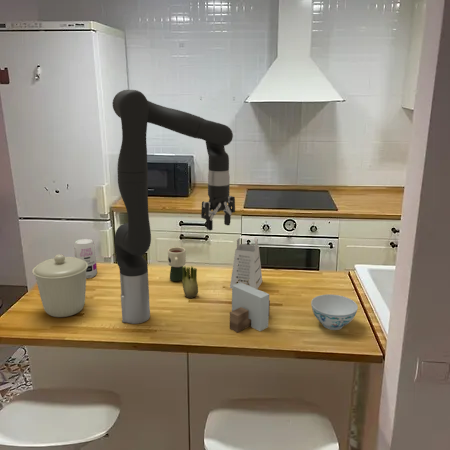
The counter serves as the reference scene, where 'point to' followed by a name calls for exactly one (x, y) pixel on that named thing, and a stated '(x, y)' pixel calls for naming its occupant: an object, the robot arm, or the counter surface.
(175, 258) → the character mug
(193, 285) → the fennel bulb
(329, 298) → the chinaware
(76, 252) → the supplement can
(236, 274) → the grater
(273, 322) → the counter surface
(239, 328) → the walnut stand
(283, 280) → the counter surface
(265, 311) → the plain gray rectangular block
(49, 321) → the counter surface
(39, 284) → the canister
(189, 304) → the counter surface
